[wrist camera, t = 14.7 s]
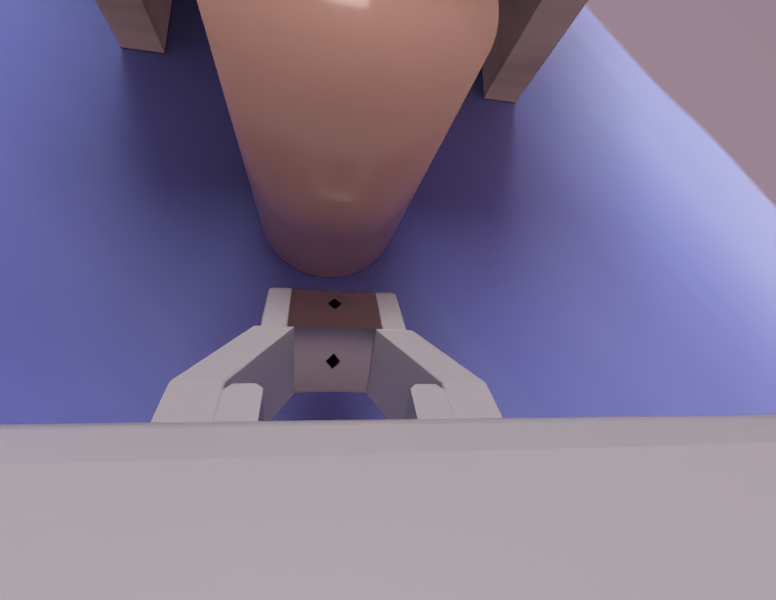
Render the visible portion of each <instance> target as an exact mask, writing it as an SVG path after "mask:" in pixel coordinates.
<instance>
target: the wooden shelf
mask: <svg viewBox="0 0 776 600" xmlns="http://www.w3.org/2000/svg"><path fill="white" fill-rule="evenodd" d="M95 1H96V2H97V4H98V6H99V8H100V10H101V12H102V13H103V15H104V17H105V19H106V21H107V23H108V24H109V26H110V28H111V30H112V32H113V33H114V35H115V37H116V39H117V41H118V43H119V44H120V46H121V47H124V48H131V49H138V50H145V51H152V52H159V53H164V52H165V45H166V39H167V32H168V25H169V18H170V12H171V5H172V0H95ZM587 1H588V0H498V3H499V20H498V27H497V33H496V37H495V40H494V43H493V46H492V49H491V51H490V53H489V54H488V56H487V58H486V60H485V62H484V64H483V66H482V77H483V92H484V98H485V99H492V100H499V101H507V102H514V103H515V102H516V101H517V100H518V98H519V97H520V95H521V94H522V93H523V91H524V90H525V88H526V87H527V86H528V84H529V83H530V81H531V80H532V79H533V77H534V76H535V74H536V73H537V71H538V70H539V69H540V67H541V66H542V64H543V63H544V62H545V60H546V59H547V57H548V56H549V55H550V53H551V52H552V50H553V49H554V48H555V46H556V45H557V43H558V42H559V41H560V39H561V38H562V36H563V35H564V33H565V32H566V31H567V29H568V28H569V26H570V25H571V24H572V22H573V21H574V19H575V18H576V17H577V15H578V14H579V12H580V11H581V10H582V8H583V7H584V5H585V4H586V2H587Z"/></svg>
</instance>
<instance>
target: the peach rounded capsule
mask: <svg viewBox="0 0 776 600" xmlns="http://www.w3.org/2000/svg"><path fill="white" fill-rule="evenodd" d="M197 3H198V7H199V10H200V13H201V17H202V20H203V24H204V27H205V31H206V34H207V38H208V41H209V45H210V48H211V51H212V55H213V58H214V62H215V65H216V69H217V72H218V76H219V79H220V83H221V86H222V89H223V93H224V96H225V100H226V103H227V107H228V110H229V114H230V117H231V121H232V124H233V127H234V131H235V134H236V138H237V141H238V145H239V148H240V152H241V155H242V159H243V162H244V165H245V169H246V172H247V176H248V179H249V183H250V186H251V190H252V193H253V197H254V200H255V203H256V207H257V210H258V214H259V217H260V221H261V224H262V228H263V231H264V234H265V236H266V238H267V240H268V242H269V244H270V245H271V247H272V249H273V250H274V251H275V252H276V253H277V254H278V256H279V257H281V258H282V259H283V260H284V261H285V262H286V263H288V264H289V265H291V266H292V267H294V268H296V269H298V270H300V271H302V272H304V273H307V274H310V275H314V276H318V277H343V276H348V275H351V274H354V273H357V272H359V271H362V270H363V269H365V268H367V267H368V266H370V265H371V264H372V263H374V262H375V261H376V260H377V259H378V258H379V257H380V256H381V255H382V253H383V252H384V251H385V249H386V247H387V245H388V244H389V242H390V240H391V238H392V236H393V234H394V232H395V230H396V228H397V227H398V225H399V223H400V221H401V219H402V217H403V215H404V213H405V211H406V210H407V208H408V206H409V204H410V202H411V200H412V198H413V196H414V194H415V193H416V191H417V189H418V187H419V185H420V183H421V181H422V179H423V177H424V176H425V174H426V172H427V170H428V168H429V166H430V164H431V162H432V160H433V158H434V157H435V155H436V153H437V151H438V149H439V147H440V145H441V143H442V141H443V140H444V138H445V136H446V134H447V132H448V130H449V128H450V126H451V124H452V123H453V121H454V119H455V117H456V115H457V113H458V111H459V109H460V107H461V106H462V104H463V102H464V100H465V98H466V96H467V94H468V92H469V90H470V89H471V87H472V85H473V83H474V81H475V79H476V77H477V75H478V73H479V71H480V70H481V68H482V66H483V64H484V62H485V60H486V58H487V56H488V54H489V53H490V51H491V49H492V46H493V43H494V40H495V37H496V33H497V27H498V20H499V3H498V0H197Z"/></svg>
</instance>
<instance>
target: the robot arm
mask: <svg viewBox="0 0 776 600" xmlns="http://www.w3.org/2000/svg"><path fill="white" fill-rule="evenodd" d="M329 391H331V392H367V395H368V396H369V397H370V399H371V400H372V401H373V402H374V403H375V405H376V406H377V407H378V408H379V409H380V411H381V412H382V413H383V414H384V416H385V417H386V418H387V419H377V420H300V421H272V419H273V418H274V417H275V416H276V415H277V413H278V412H279V411H280V410H281V409H282V407H283V406H284V405H285V404H286V403H287V401H288V400H289V399H290V398H291V397H292V395H293V392H329ZM0 600H776V414H761V415H685V416H607V417H528V418H502V415H501V413H500V411H499V409H498V407H497V405H496V403H495V401H494V399H493V397H492V394H491V392H490V390H489V388H488V386H487V384H486V383H485V382H484V381H482V380H481V379H480V378H478V377H477V376H475V375H474V374H473V373H471V372H470V371H468V370H467V369H466V368H464V367H463V366H461V365H460V364H459V363H457V362H456V361H454V360H453V359H452V358H450V357H449V356H447V355H446V354H445V353H443V352H442V351H440V350H439V349H438V348H436V347H435V346H433V345H432V344H431V343H429V342H428V341H426V340H425V339H424V338H422V337H421V336H419V335H418V334H417V333H415V332H414V331H412V330H406V327H405V324H404V320H403V317H402V314H401V310H400V307H399V303H398V300H397V297H396V294H395V293H375V292H335V291H325V290H309V289H294V288H293V289H291V288H274V287H271V288H270V289H269V290H268V295H267V299H266V303H265V308H264V312H263V316H262V321H261V325H260V326H253V327H251V328H250V329H248V330H247V331H245V332H244V333H242V334H241V335H239V336H238V337H236V338H234V339H233V340H231V341H230V342H228V343H227V344H225V345H224V346H222V347H221V348H219V349H218V350H216V351H215V352H213V353H212V354H210V355H209V356H207V357H206V358H204V359H203V360H201V361H200V362H198V363H197V364H195V365H194V366H192V367H191V368H189V369H187V370H186V371H184V372H183V373H181V374H180V375H178V376H177V377H175V378H174V379H172V380H171V381H170V382H169V384H168V386H167V388H166V390H165V392H164V394H163V397H162V399H161V401H160V403H159V405H158V407H157V409H156V411H155V414H154V416H153V418H152V420H151V422H144V423H66V424H0Z"/></svg>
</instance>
